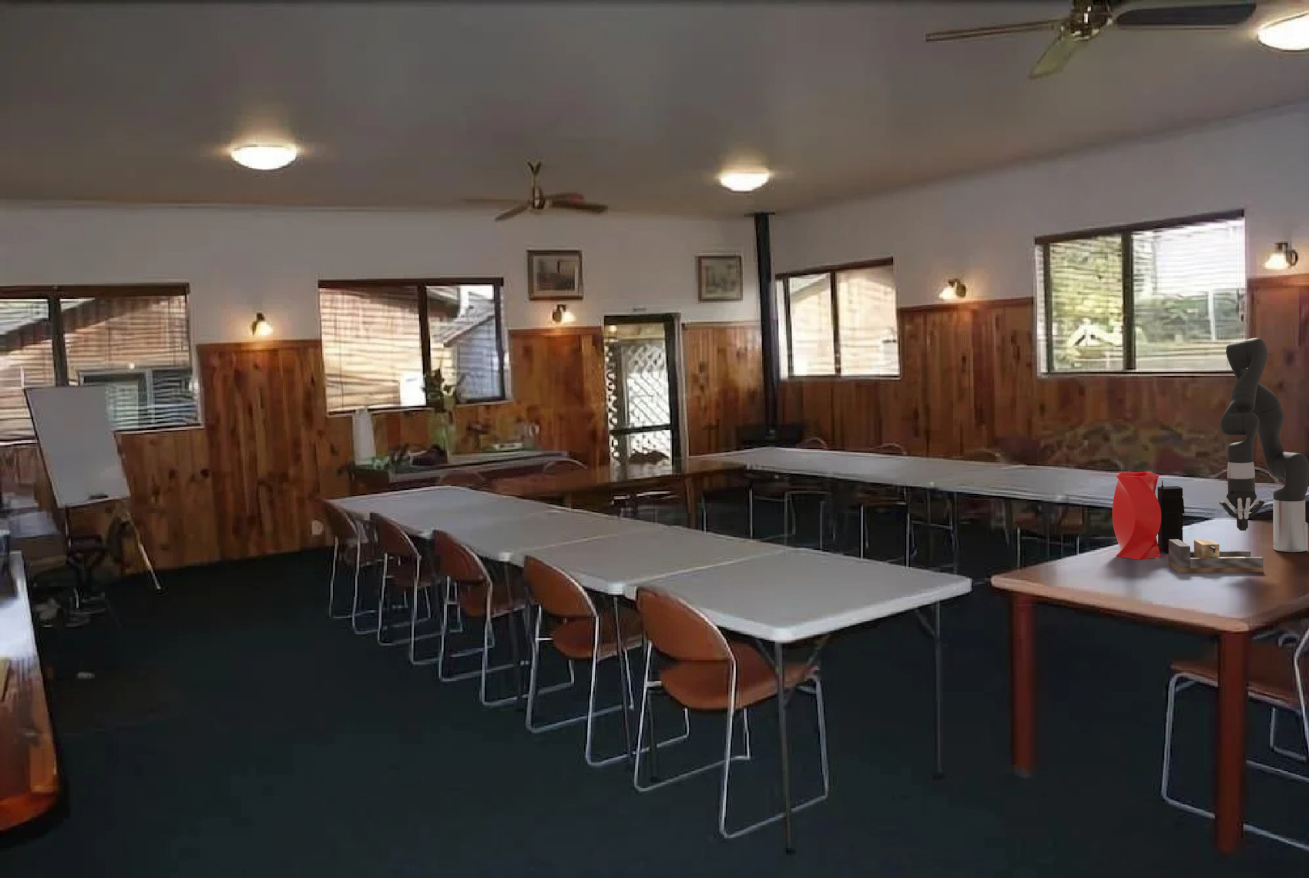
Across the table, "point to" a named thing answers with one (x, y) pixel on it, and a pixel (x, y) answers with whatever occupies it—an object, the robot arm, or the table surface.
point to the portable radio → (1170, 515)
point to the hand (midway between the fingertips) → (1242, 530)
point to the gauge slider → (1205, 548)
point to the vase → (1136, 515)
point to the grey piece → (1211, 560)
